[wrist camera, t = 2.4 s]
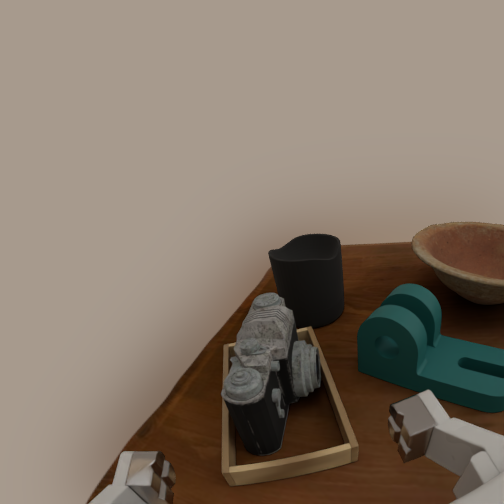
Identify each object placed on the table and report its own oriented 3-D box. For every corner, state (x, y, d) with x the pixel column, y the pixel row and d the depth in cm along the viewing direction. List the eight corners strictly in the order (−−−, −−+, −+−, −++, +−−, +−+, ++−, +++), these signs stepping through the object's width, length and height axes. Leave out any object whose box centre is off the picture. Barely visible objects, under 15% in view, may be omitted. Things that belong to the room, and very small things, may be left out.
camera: (315, 456, 22) (299, 377, 19) (239, 455, 24) (202, 379, 21) (324, 351, 36) (312, 275, 32) (268, 355, 38) (249, 283, 34)
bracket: (358, 371, 31) (355, 310, 29) (387, 336, 35) (387, 278, 32) (512, 419, 18) (540, 353, 15) (524, 371, 22) (543, 308, 19)
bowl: (577, 331, 21) (592, 272, 19) (414, 347, 32) (418, 286, 29) (524, 255, 41) (527, 212, 39) (408, 261, 52) (407, 218, 49)
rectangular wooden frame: (229, 486, 21) (221, 473, 20) (228, 360, 38) (223, 344, 37) (357, 460, 21) (358, 445, 20) (313, 342, 38) (311, 325, 37)
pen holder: (353, 323, 40) (347, 252, 36) (283, 336, 41) (268, 267, 37) (339, 290, 48) (332, 229, 45) (280, 301, 49) (268, 241, 46)
